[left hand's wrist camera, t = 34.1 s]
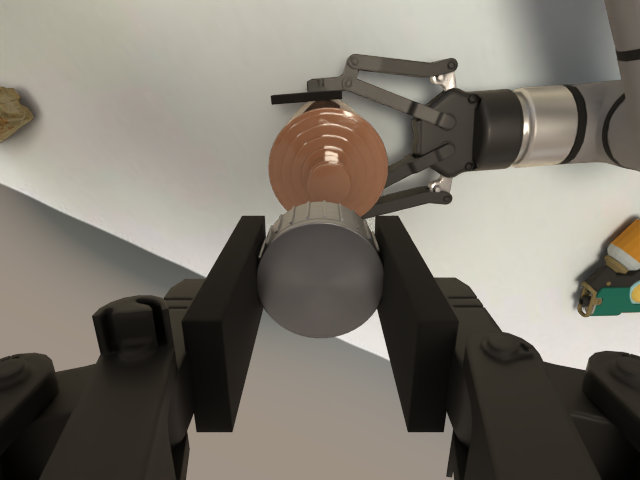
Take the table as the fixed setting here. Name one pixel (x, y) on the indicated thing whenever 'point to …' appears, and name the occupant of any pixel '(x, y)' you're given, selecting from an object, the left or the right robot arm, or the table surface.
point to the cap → (320, 270)
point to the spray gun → (615, 278)
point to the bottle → (328, 158)
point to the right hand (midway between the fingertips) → (278, 147)
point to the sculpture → (12, 113)
